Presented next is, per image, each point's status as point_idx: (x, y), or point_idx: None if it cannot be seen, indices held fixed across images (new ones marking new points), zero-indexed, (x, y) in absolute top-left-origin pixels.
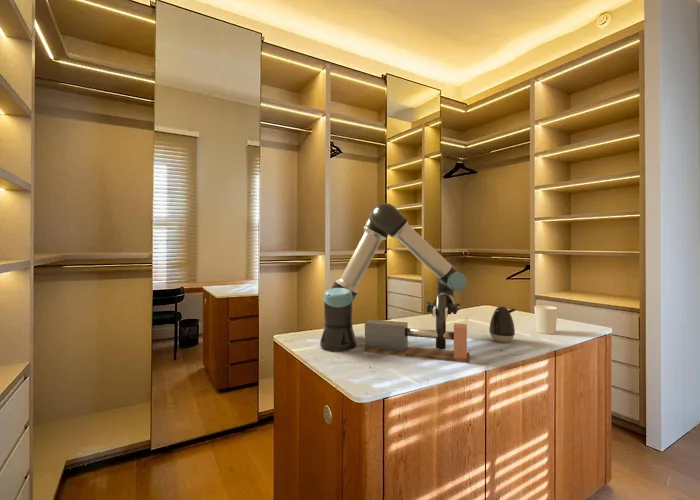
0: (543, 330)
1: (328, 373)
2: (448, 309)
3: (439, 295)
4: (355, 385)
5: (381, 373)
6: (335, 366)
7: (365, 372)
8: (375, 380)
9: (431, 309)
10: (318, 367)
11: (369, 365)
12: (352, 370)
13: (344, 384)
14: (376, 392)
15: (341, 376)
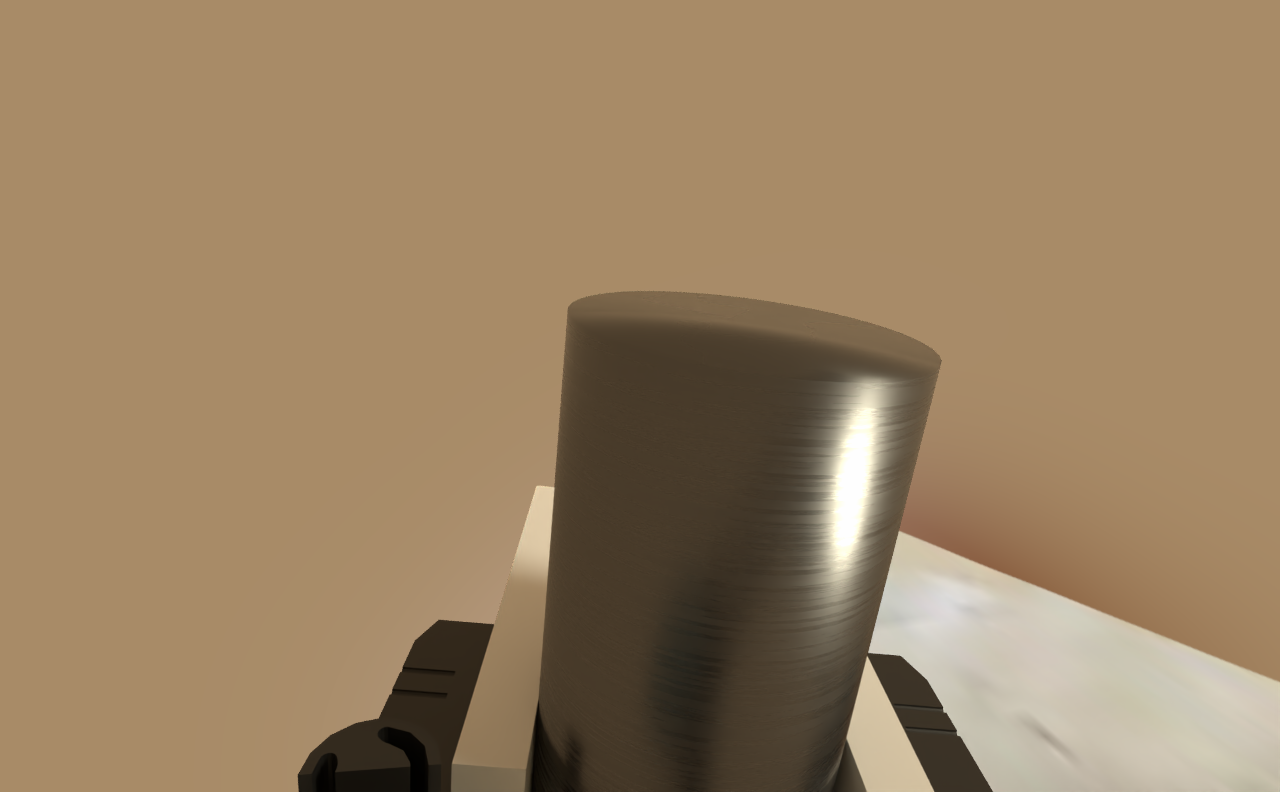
0: None
1: (1128, 629)
2: (453, 734)
3: (790, 322)
4: (918, 561)
5: (914, 668)
6: (1217, 707)
7: (997, 665)
8: (881, 601)
9: (889, 657)
10: (1262, 679)
11: (1080, 763)
12: (1079, 676)
13: (961, 562)
14: None
15: (1045, 613)
